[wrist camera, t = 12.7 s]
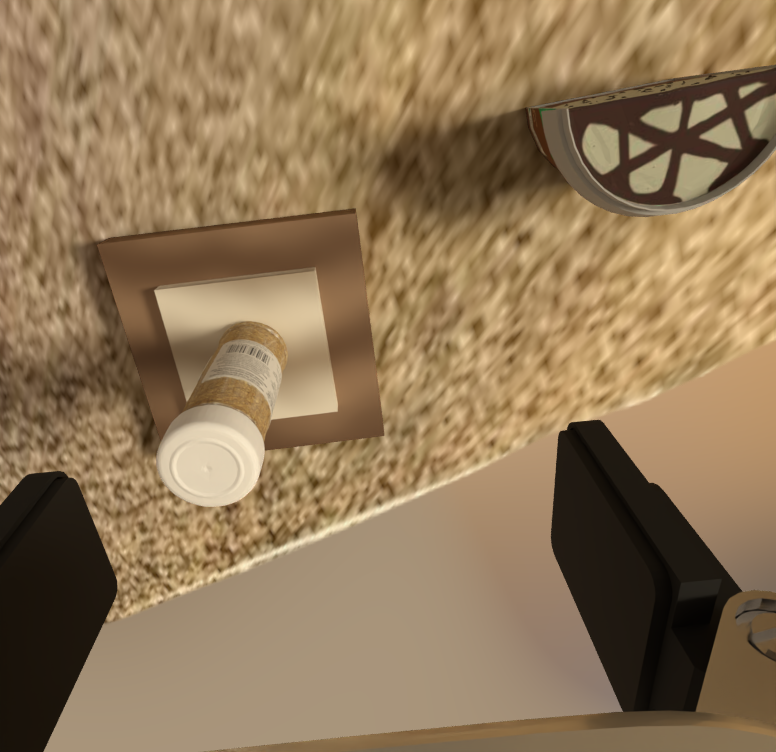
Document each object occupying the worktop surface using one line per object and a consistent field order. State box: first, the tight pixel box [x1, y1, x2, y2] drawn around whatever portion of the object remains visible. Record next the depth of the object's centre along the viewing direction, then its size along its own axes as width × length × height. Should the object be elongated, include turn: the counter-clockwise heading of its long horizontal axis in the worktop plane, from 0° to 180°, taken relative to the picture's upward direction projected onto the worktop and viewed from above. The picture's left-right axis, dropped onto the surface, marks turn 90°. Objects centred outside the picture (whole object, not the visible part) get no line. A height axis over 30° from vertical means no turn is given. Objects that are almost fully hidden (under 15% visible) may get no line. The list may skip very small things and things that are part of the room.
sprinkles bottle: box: [156, 321, 288, 507], centre depth 31 cm, size 5×5×14 cm
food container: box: [526, 65, 776, 217], centre depth 31 cm, size 12×6×10 cm, turn 100°
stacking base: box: [97, 209, 384, 450], centre depth 38 cm, size 16×16×3 cm
